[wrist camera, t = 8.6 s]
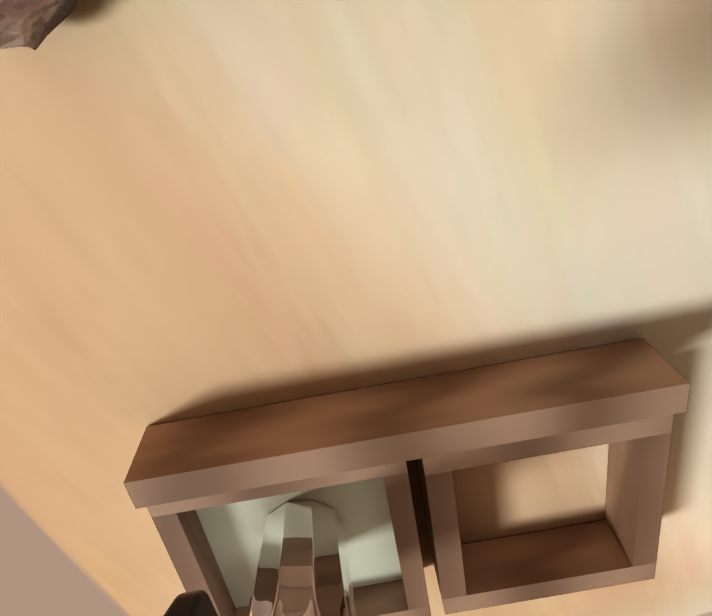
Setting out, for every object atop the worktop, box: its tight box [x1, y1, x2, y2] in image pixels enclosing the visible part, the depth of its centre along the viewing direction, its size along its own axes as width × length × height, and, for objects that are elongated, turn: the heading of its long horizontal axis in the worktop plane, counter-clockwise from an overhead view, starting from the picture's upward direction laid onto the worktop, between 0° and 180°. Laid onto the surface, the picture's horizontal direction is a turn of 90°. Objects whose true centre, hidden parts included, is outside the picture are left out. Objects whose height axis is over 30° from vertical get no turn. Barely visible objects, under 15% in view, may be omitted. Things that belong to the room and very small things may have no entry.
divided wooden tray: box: [124, 338, 690, 616], centre depth 23 cm, size 19×11×3 cm, turn 100°
